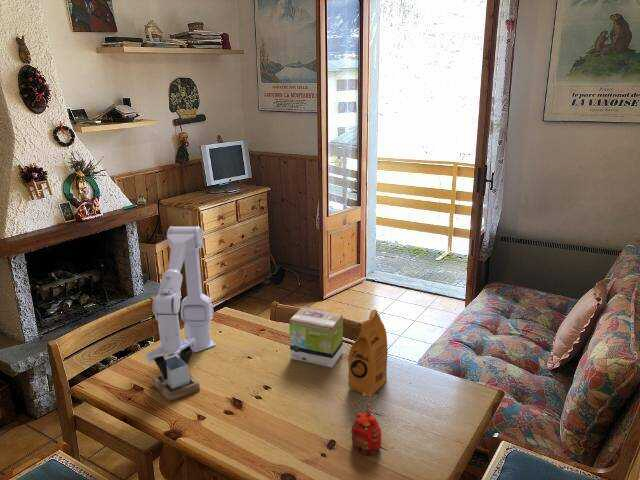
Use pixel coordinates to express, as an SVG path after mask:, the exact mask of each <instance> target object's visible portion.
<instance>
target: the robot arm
mask: <svg viewBox="0 0 640 480" xmlns="http://www.w3.org/2000/svg"><path fill="white" fill-rule="evenodd" d="M203 232H204V231H203V229H202V228H201V227H200V226H199V225H196V226H173V225H171V226H169V228H168V229H167V232H166V240H167V244H168V246H169V249H170V252H169V258H168V259H169V260H168V268H167V270H166V271H164V272H163V274H162V276H161V281H160V286H159V290H158V294H156V295H155V296H154V297H153V298H152V306H151V307H152V308H151V309H152V313H153V315H154V316H155V317H154V318H155V320H156V322H157V324H158V333H159V342H160V346H159V347H157V348H155V349H153V350H152V351H150V352H148V353H146V354H145V356H146V361H147V362H148V363H151V362H153V361H154V362H155V364H156V366H157V367H158V368H159V370H160V374H161V373H162V376H163V378H164V379H165V380H167V369H166V366H167V362H166V361H165V359H166V358H165V357H166V356H170V355H171V356H174V355H179V357H180V358H181V359H182V360H183V361H184V362H185V363H186V364H187V365H188V366H189V362H190V359H191V357H192V355H193V353H198V352H200V351H203V350H207V349H209V348H212V347H215V346H216V345H217V344H216V343H215V342H214V341H213V340H212V338H211V329H210V322H211V321H212V320H213V318H214V306H213V304H212V303H213V302H212V298H211V297H209V296H208V295H206V294H204V293H203V285H202V274H201V273H202V271H201V261H200V249H203V248H204V233H203ZM183 265H184V270H185V281H186V293H187V296H185V297H184V298H183V299H182V300H181V294H180V292H181V288H182V282H183V278H184V277H183V274H182V273H181V271H182V267H183ZM179 312H180V318H179ZM180 319H181V320H182V321H183V322H184V325H183V327H184V335H185V336H184V337H185V339H182V338H181V330H180V329H181V328H180V321H179V320H180Z"/></svg>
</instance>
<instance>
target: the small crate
mask: <svg viewBox="0 0 640 480" xmlns="http://www.w3.org/2000/svg"><path fill="white" fill-rule="evenodd" d="M164 359H165V361H166V362H167V366H166V369H167V380H165V379H164V378H163V376H162V379H163V380H164V381H165V382H166V383H167V384H168V386H169V387H170V388H171V389H172V390H175V389H177V388H179V387H182V386H184V385H187V384H189V383H190V376H189V374H190V370H189V364H188V365H187V364H186V363H185V362H184V361H183V360H182V359H181V358H180V355H179V354H177V355H171V356H168V357H166V358H164ZM160 374H161V375H162V373H161V372H160Z"/></svg>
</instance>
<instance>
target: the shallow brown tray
mask: <svg viewBox="0 0 640 480" xmlns="http://www.w3.org/2000/svg"><path fill="white" fill-rule="evenodd" d="M189 376H190V383H189V384H187V385H184V386H182V387H179V388H177V389H175V390H172V389H171V388H170V387H169V386H168V384H167V383H166V382H165V381H164V380H163V379H162V375H161V373H160V374H158V375H156V376H155V375H154V376H152V384H153V386H154V387H155V388H156V390H157V391H158V392H159V393H160V394H161V395H162V396H163V397H164V399H165V400H166V401H167V403H169V404H170V403H172V402H176V401H177V400H180V399H183V398H185V397H188V396H189V395H192V394H195V393H197V392H199V391H200V392H201V387H200V382H199V381H197V379H195V377H194V376H193V375H191V373H189Z"/></svg>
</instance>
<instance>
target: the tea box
mask: <svg viewBox="0 0 640 480" xmlns="http://www.w3.org/2000/svg"><path fill="white" fill-rule="evenodd" d="M343 321H344V314H342V313H336V312H331V311H324V310H319V309H312V308H307V307H300V308H299V309H298V310H297V311H296V313H295V314H293V316H292V317H291V318H290V319H288V322H289V325H288V326H289V352H290V353H289V354H290V360H295V361H299V362H300V361H301V362H303V363H309V364H310V363H311V364H314V365H318V366H323V367H326V368H331V369H332V368H333V367H334V366H335V365H336V363H337V362H338V360H340V358H341V356H342V354H343V352H344V351H343V350H344V349H343V347H344V344H343V343H344V341H343V340H344V339H343V338H344V335H343V334H344V332H343V331H344V322H343Z"/></svg>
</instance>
